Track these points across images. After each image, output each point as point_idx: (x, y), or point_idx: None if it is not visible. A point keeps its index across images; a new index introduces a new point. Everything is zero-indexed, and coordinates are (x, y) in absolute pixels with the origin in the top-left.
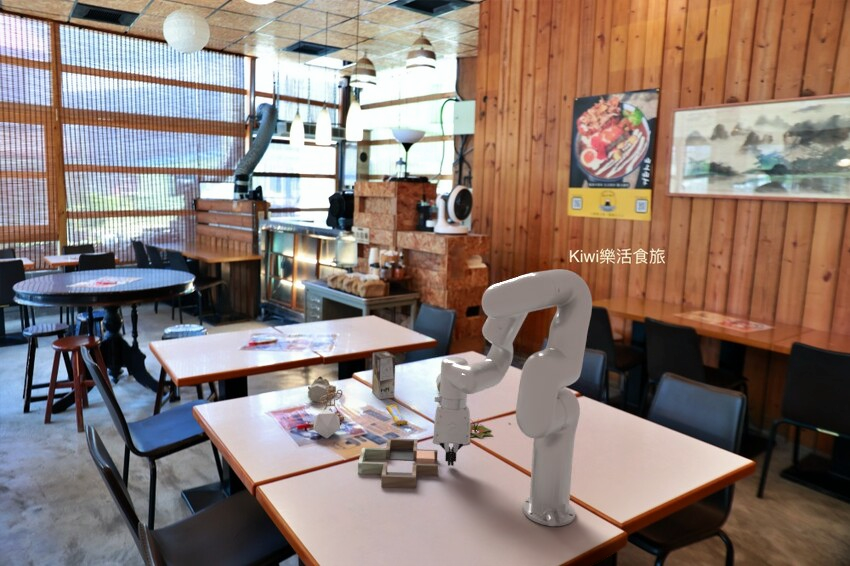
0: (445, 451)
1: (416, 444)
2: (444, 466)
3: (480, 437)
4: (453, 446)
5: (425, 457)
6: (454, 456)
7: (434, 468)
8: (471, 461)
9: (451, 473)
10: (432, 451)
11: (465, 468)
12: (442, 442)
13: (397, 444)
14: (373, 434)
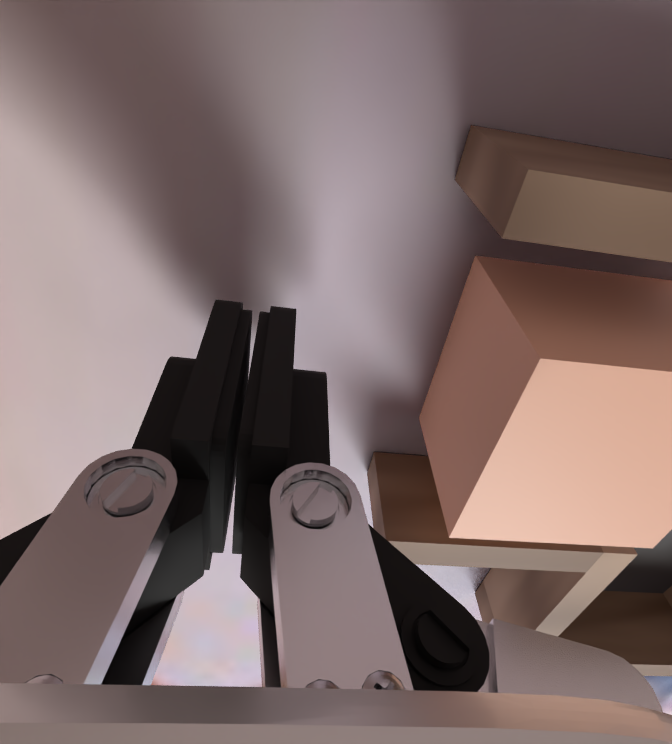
0: (347, 477)
1: (544, 626)
2: (320, 363)
3: None
4: (170, 589)
5: (664, 399)
6: (179, 407)
7: (567, 164)
8: (23, 439)
9: (257, 193)
10: (476, 528)
11: (71, 309)
12: (553, 728)
13: (637, 625)
14: (652, 685)
